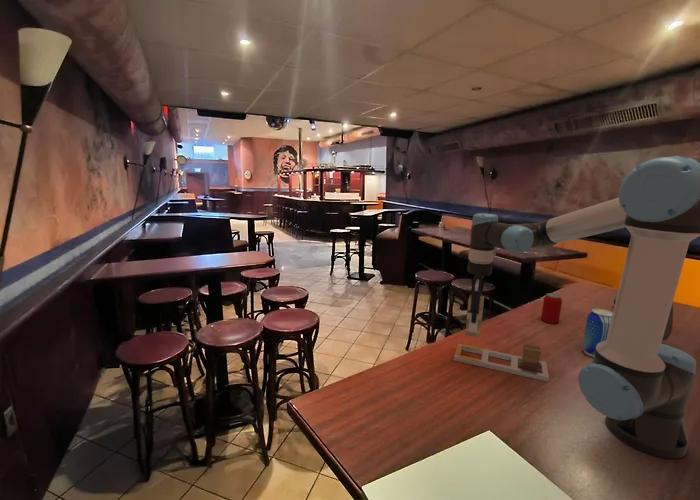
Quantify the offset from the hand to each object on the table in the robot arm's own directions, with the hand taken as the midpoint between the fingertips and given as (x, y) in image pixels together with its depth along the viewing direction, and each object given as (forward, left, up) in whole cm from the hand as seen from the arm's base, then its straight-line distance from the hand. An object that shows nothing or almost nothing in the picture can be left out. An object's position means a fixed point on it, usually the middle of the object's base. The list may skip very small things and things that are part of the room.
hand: (473, 327), depth 116 cm
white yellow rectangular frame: (0, -9, -11) cm, 14 cm away
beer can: (+22, -40, -11) cm, 47 cm away
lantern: (+40, -57, -11) cm, 71 cm away
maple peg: (0, 0, -2) cm, 2 cm away
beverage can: (+48, -28, -11) cm, 57 cm away
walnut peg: (0, -18, -11) cm, 21 cm away
